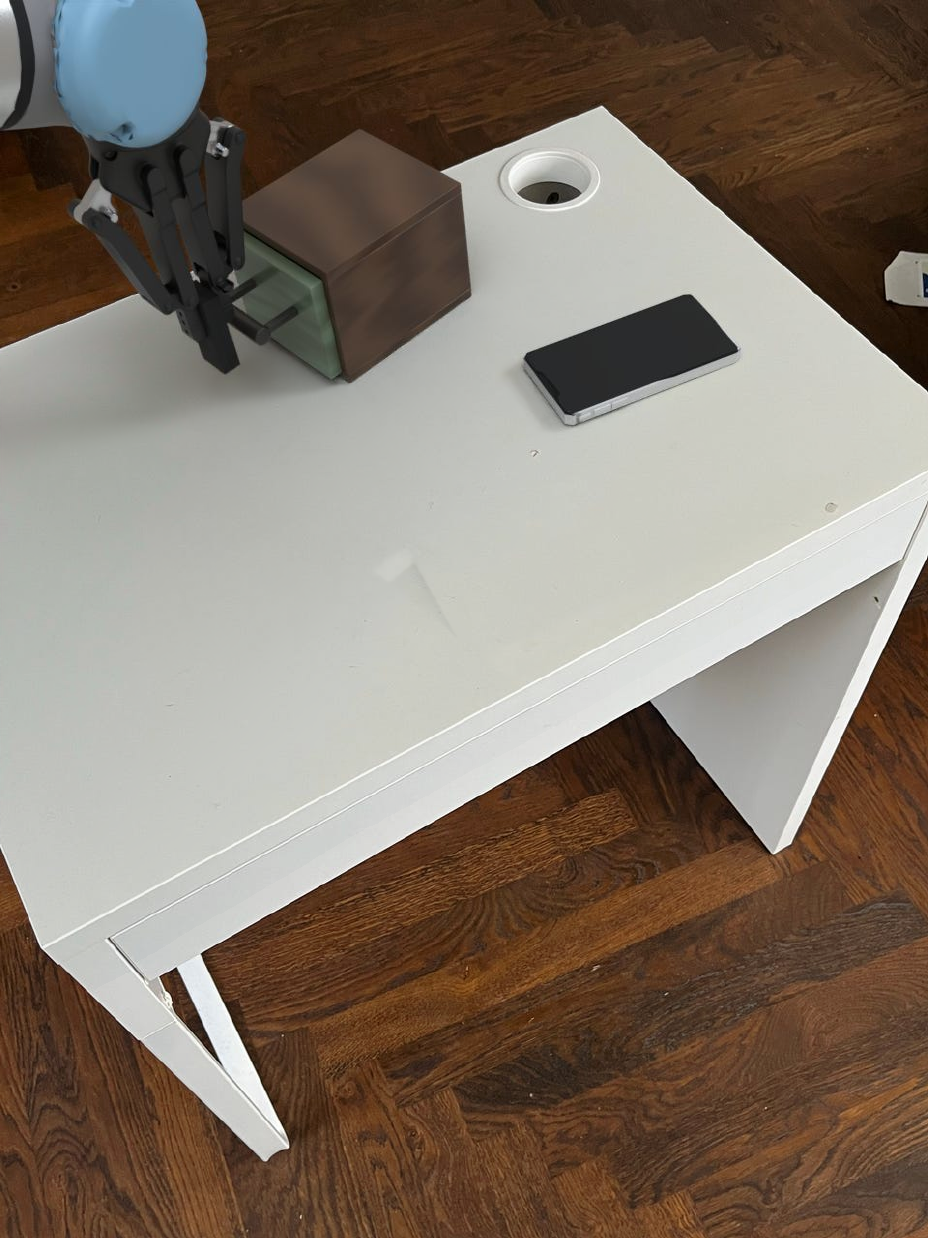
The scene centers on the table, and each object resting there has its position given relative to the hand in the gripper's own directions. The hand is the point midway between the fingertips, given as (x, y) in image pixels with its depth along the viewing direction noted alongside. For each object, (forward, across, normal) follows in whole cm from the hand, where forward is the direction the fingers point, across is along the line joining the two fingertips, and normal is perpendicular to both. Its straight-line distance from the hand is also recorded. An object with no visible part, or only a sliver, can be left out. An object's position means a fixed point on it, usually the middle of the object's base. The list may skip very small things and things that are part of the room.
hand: (221, 361), depth 87 cm
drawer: (+3, -10, 0) cm, 10 cm away
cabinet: (+4, -14, 0) cm, 14 cm away
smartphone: (+4, -23, +21) cm, 31 cm away
